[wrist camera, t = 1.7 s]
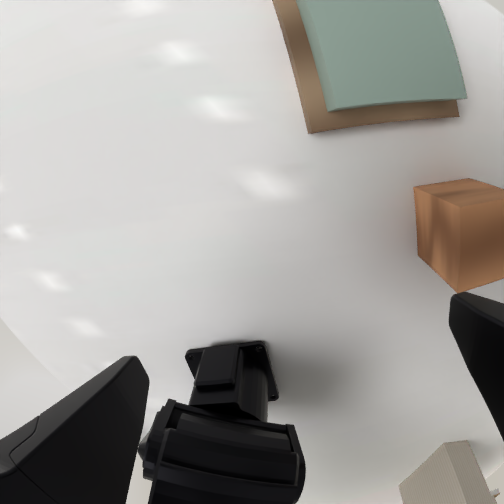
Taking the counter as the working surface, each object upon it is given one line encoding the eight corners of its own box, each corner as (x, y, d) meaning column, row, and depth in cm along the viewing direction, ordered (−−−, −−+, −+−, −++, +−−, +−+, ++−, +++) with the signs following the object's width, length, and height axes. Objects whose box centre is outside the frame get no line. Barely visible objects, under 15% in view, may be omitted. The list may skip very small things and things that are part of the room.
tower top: (445, 100, 15) (467, 98, 12) (327, 112, 16) (336, 108, 13) (411, -11, 12) (427, -25, 10) (292, -9, 13) (295, -27, 11)
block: (470, 242, 20) (516, 273, 14) (417, 255, 20) (457, 293, 15) (469, 177, 18) (521, 195, 12) (412, 186, 19) (459, 207, 13)
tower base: (441, 117, 17) (459, 116, 15) (306, 133, 19) (312, 133, 16) (405, -8, 14) (418, -21, 12) (270, -2, 15) (270, -18, 13)
